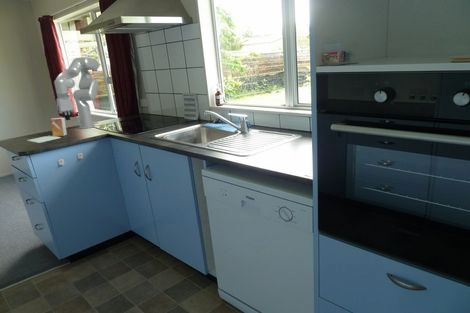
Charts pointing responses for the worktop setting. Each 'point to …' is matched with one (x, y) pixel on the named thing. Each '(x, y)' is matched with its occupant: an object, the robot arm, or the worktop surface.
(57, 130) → the small box
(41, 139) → the mat
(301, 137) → the worktop surface
